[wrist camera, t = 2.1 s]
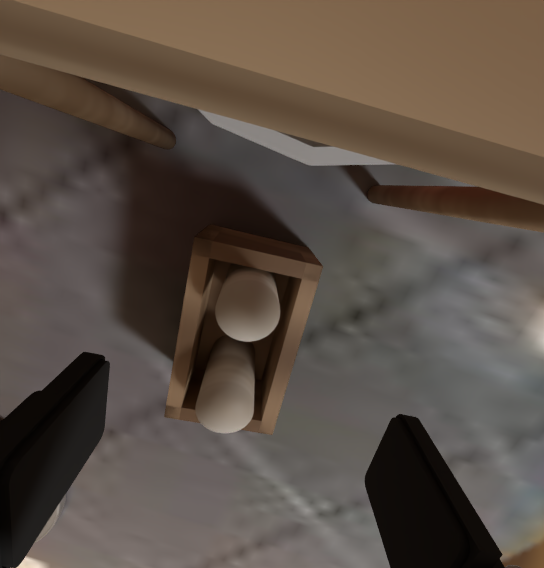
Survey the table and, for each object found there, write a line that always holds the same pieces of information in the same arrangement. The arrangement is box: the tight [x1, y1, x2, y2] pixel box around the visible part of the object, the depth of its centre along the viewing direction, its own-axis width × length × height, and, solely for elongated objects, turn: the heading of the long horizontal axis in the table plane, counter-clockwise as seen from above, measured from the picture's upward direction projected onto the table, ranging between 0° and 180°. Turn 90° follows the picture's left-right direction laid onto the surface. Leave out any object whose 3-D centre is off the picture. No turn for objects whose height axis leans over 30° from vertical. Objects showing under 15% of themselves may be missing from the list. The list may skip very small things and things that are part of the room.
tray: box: [164, 224, 323, 435], centre depth 17 cm, size 10×6×6 cm, turn 166°
